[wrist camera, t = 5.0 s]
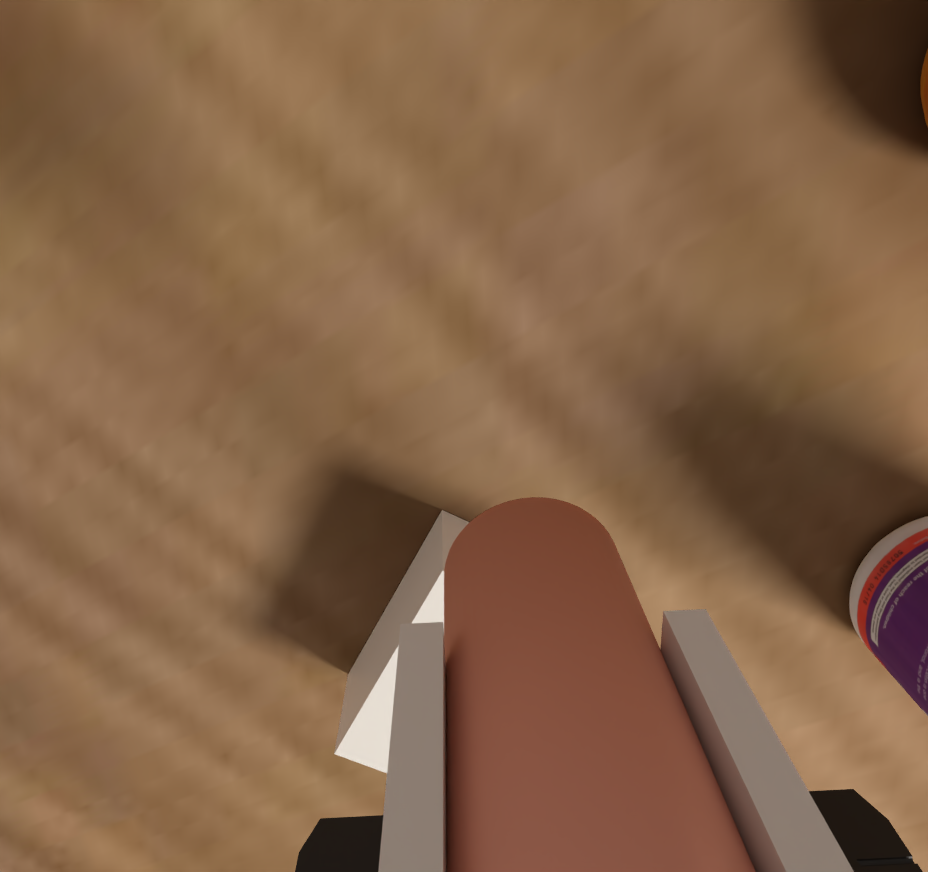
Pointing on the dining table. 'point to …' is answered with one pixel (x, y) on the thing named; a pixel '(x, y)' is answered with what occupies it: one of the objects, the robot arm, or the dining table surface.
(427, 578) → the socket block
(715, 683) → the robot arm
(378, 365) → the dining table surface
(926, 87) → the fruit
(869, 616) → the pill bottle
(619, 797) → the peg
